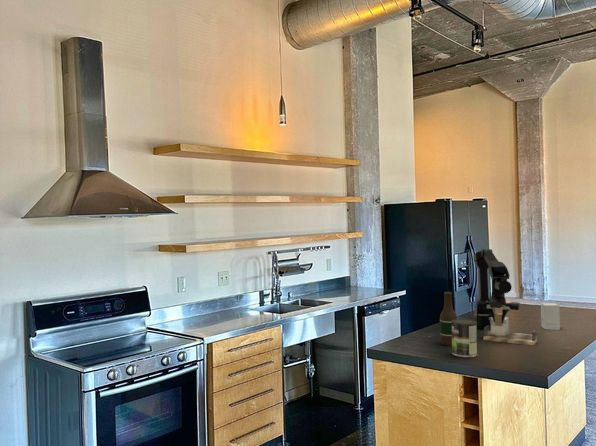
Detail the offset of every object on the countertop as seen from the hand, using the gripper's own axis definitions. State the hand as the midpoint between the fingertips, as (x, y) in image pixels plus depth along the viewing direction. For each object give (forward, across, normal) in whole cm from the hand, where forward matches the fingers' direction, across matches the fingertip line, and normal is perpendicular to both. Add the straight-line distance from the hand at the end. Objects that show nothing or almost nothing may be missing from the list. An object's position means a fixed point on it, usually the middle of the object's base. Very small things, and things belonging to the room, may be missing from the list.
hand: (498, 322), depth 242 cm
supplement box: (+8, +18, +38) cm, 43 cm away
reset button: (+1, -2, +13) cm, 13 cm away
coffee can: (+8, -7, -35) cm, 37 cm away
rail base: (+8, +5, 0) cm, 9 cm away
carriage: (+5, 0, 0) cm, 5 cm away
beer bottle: (+8, -18, -20) cm, 28 cm away
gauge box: (+8, -2, +12) cm, 15 cm away
